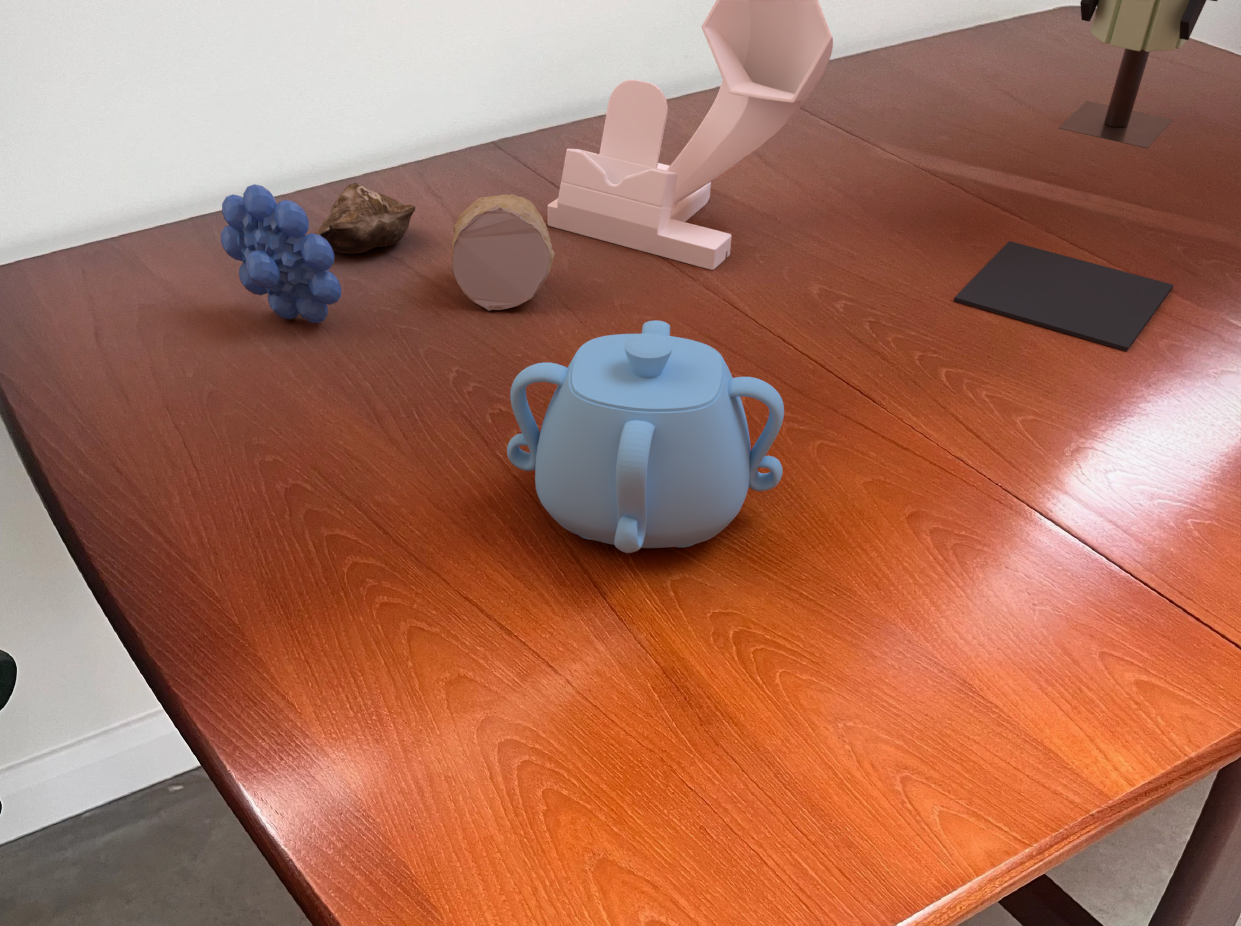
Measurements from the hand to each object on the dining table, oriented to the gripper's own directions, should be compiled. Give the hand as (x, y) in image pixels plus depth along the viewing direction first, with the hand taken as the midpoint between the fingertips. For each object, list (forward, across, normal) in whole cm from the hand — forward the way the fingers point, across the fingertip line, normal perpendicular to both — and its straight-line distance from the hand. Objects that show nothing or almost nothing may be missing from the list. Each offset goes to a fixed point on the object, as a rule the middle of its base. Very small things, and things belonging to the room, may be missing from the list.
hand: (1133, 21), depth 112 cm
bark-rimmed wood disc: (+43, -40, -14) cm, 60 cm away
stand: (-6, -5, +35) cm, 36 cm away
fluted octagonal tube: (-1, 0, +4) cm, 4 cm away
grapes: (+54, -53, -25) cm, 80 cm away
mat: (+22, +3, +7) cm, 23 cm away
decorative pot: (+58, -12, -28) cm, 65 cm away
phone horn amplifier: (+27, -33, +2) cm, 43 cm away
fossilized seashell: (+43, -57, -14) cm, 73 cm away
